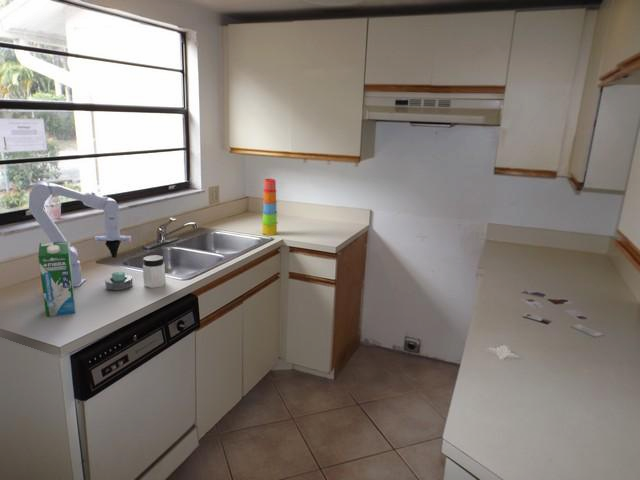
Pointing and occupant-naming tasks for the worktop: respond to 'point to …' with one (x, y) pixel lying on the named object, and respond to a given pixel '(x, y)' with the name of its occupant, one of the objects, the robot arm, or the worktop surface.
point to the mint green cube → (118, 276)
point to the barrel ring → (118, 284)
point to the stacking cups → (269, 208)
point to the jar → (153, 271)
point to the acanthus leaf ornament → (502, 352)
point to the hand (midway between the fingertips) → (114, 256)
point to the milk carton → (56, 278)
